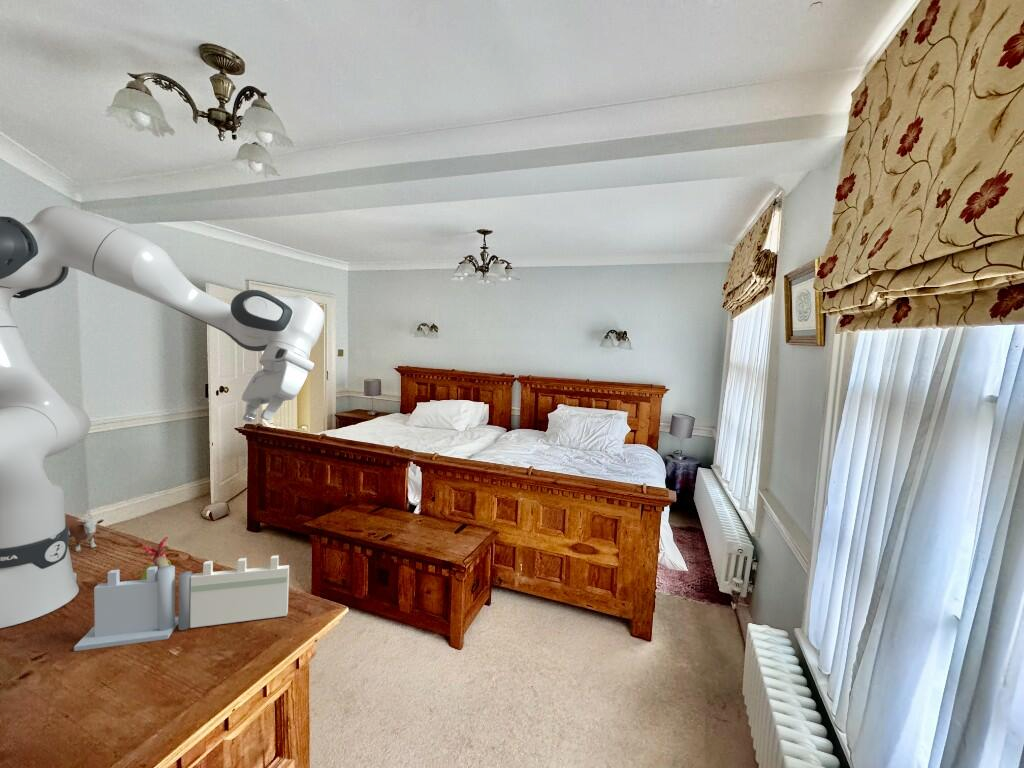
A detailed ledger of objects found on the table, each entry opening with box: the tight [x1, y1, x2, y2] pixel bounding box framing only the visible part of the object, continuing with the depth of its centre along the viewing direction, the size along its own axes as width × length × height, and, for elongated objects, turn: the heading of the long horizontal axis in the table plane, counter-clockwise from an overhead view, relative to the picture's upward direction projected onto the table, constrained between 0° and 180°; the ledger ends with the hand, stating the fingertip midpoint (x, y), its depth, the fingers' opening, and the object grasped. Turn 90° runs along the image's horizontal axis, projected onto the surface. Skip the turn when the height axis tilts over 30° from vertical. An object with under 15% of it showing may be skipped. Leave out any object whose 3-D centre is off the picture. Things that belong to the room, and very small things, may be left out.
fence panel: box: [177, 554, 290, 631], centre depth 78 cm, size 18×2×12 cm, turn 109°
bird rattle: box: [139, 536, 174, 580], centre depth 86 cm, size 6×11×9 cm
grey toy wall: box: [73, 564, 178, 652], centre depth 72 cm, size 13×5×12 cm, turn 109°
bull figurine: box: [65, 517, 104, 553], centre depth 98 cm, size 4×13×8 cm, turn 78°
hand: (256, 420), depth 85 cm, fingers open, 8 cm apart
